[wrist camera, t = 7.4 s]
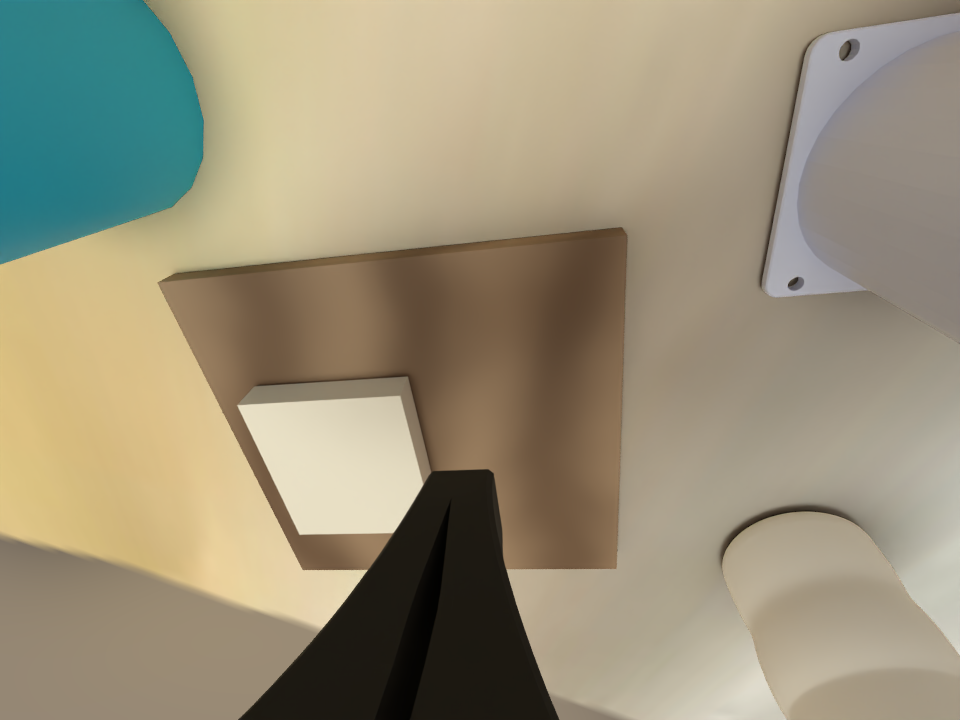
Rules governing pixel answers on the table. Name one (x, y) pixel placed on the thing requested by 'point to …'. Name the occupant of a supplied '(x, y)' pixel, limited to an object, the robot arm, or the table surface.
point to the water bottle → (838, 624)
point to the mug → (90, 120)
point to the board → (445, 372)
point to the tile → (340, 451)
